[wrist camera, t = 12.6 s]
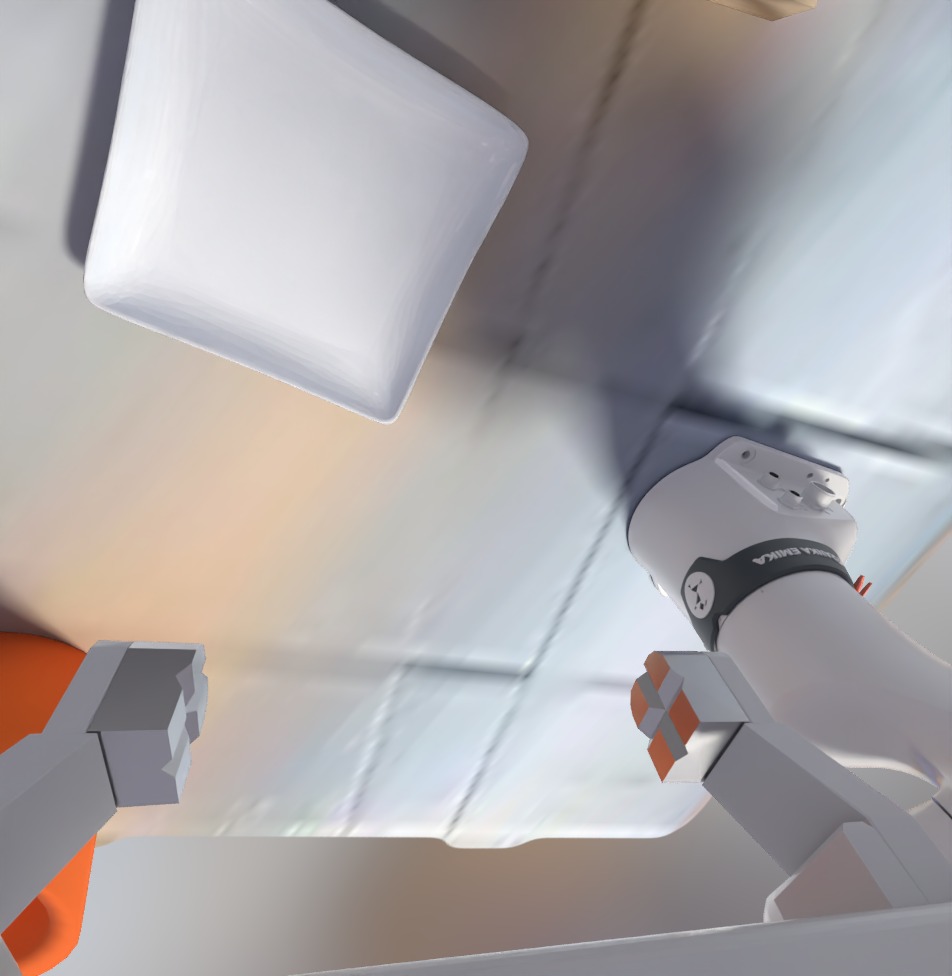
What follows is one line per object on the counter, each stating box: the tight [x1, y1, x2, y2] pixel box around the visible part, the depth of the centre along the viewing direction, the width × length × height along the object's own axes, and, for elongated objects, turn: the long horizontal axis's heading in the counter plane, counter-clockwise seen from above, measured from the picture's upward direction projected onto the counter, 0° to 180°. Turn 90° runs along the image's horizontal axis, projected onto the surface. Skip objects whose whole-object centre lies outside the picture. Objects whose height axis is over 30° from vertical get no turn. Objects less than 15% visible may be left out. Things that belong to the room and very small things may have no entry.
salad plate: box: [83, 0, 529, 424], centre depth 35 cm, size 21×21×3 cm
